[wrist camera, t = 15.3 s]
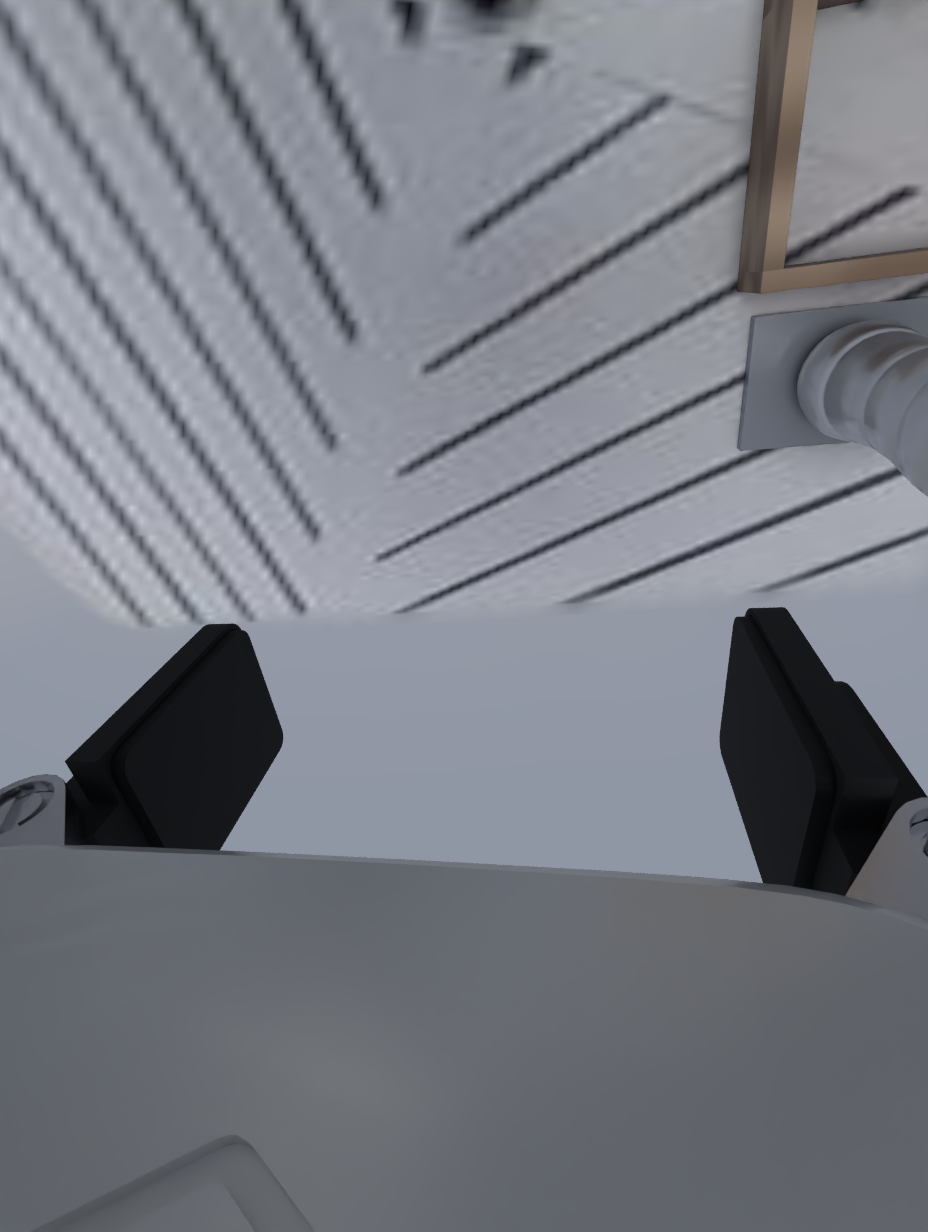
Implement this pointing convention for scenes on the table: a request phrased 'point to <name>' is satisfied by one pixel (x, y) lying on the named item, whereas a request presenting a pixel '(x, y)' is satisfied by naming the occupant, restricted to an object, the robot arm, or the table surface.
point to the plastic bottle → (872, 392)
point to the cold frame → (792, 165)
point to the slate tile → (800, 367)
